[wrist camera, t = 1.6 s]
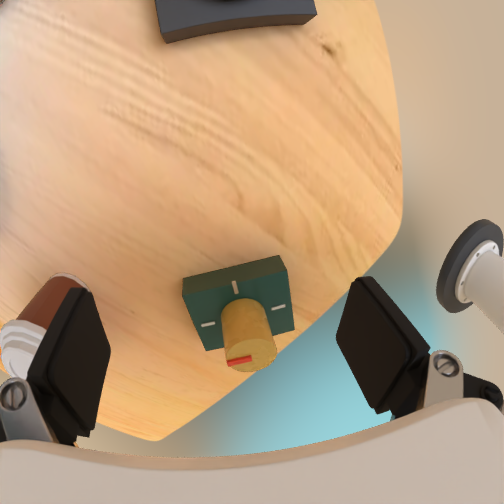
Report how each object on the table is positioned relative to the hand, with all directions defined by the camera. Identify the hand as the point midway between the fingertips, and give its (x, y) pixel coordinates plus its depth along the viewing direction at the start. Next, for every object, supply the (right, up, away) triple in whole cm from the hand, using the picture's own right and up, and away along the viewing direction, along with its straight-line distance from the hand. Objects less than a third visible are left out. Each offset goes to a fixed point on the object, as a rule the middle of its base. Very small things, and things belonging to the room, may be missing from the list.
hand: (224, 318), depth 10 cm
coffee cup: (-20, -3, +17) cm, 26 cm away
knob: (0, -4, +18) cm, 18 cm away
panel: (0, -3, +21) cm, 21 cm away
